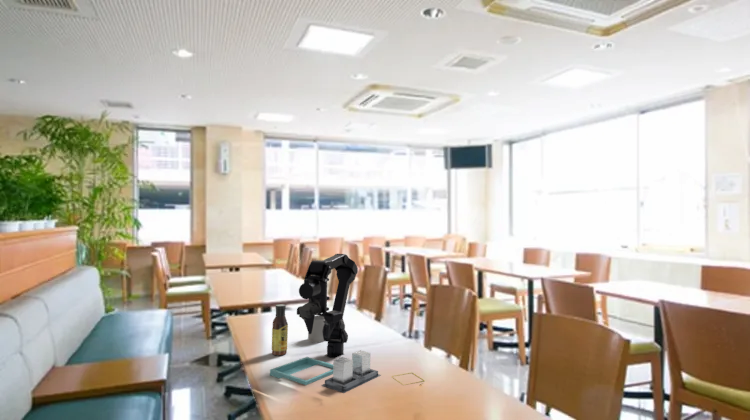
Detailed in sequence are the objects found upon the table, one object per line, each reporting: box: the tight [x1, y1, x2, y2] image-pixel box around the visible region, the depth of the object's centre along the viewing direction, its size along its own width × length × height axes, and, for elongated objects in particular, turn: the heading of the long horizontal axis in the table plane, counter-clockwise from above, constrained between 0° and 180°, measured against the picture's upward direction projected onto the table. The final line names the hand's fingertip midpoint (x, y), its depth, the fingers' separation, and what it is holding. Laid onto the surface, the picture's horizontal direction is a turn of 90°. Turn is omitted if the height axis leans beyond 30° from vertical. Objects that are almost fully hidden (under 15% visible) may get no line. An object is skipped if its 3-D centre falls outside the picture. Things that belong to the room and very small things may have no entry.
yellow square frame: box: [391, 372, 426, 386], centre depth 154 cm, size 9×9×2 cm
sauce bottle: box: [271, 303, 289, 356], centre depth 183 cm, size 7×6×20 cm
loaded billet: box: [351, 349, 371, 377], centre depth 156 cm, size 4×4×8 cm
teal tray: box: [269, 356, 333, 386], centre depth 160 cm, size 18×18×2 cm
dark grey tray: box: [321, 368, 382, 394], centre depth 152 cm, size 20×10×3 cm, turn 143°
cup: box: [307, 315, 325, 344], centre depth 204 cm, size 8×8×10 cm
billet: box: [332, 356, 353, 385], centre depth 148 cm, size 4×4×8 cm
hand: (318, 336), depth 167 cm, fingers open, 9 cm apart
